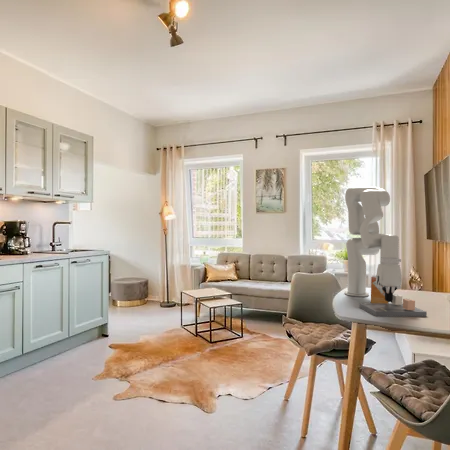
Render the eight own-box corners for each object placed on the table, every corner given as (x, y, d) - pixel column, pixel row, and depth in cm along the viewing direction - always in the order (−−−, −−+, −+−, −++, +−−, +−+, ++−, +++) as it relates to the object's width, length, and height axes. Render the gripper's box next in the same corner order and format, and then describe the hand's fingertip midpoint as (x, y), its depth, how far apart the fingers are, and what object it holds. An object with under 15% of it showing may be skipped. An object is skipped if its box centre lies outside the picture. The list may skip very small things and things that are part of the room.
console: (359, 307, 164) (359, 303, 164) (405, 307, 165) (405, 303, 165) (375, 316, 148) (375, 311, 148) (426, 316, 149) (426, 311, 149)
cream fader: (391, 303, 164) (391, 294, 164) (397, 303, 164) (397, 294, 164) (395, 304, 160) (395, 295, 160) (402, 304, 160) (402, 295, 160)
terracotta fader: (402, 307, 154) (403, 298, 154) (409, 308, 154) (409, 298, 154) (408, 310, 150) (408, 300, 150) (414, 310, 150) (415, 300, 150)
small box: (370, 303, 175) (370, 276, 175) (372, 300, 180) (372, 275, 180) (388, 305, 171) (388, 278, 171) (389, 302, 176) (390, 276, 176)
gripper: (400, 260, 166) (400, 299, 166) (369, 260, 166) (369, 299, 166) (409, 262, 159) (409, 303, 159) (377, 262, 158) (376, 303, 158)
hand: (388, 301), depth 162 cm, fingers closed
